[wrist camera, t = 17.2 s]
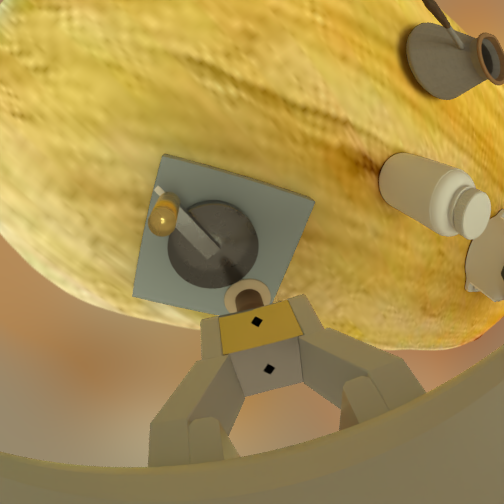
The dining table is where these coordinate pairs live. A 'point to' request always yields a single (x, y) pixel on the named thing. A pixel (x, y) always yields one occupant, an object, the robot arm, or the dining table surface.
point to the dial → (206, 240)
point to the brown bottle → (248, 300)
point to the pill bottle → (435, 195)
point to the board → (252, 204)
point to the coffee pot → (452, 57)
